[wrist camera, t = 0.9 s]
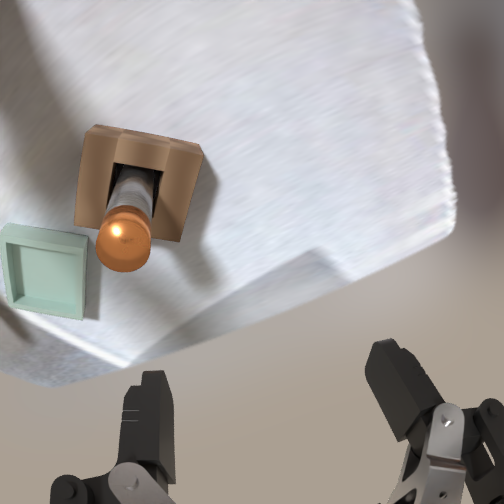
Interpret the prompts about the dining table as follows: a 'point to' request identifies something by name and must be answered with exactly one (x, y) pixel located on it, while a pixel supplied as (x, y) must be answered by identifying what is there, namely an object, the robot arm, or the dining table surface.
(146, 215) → the pin
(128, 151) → the block
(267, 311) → the dining table surface
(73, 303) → the tray
